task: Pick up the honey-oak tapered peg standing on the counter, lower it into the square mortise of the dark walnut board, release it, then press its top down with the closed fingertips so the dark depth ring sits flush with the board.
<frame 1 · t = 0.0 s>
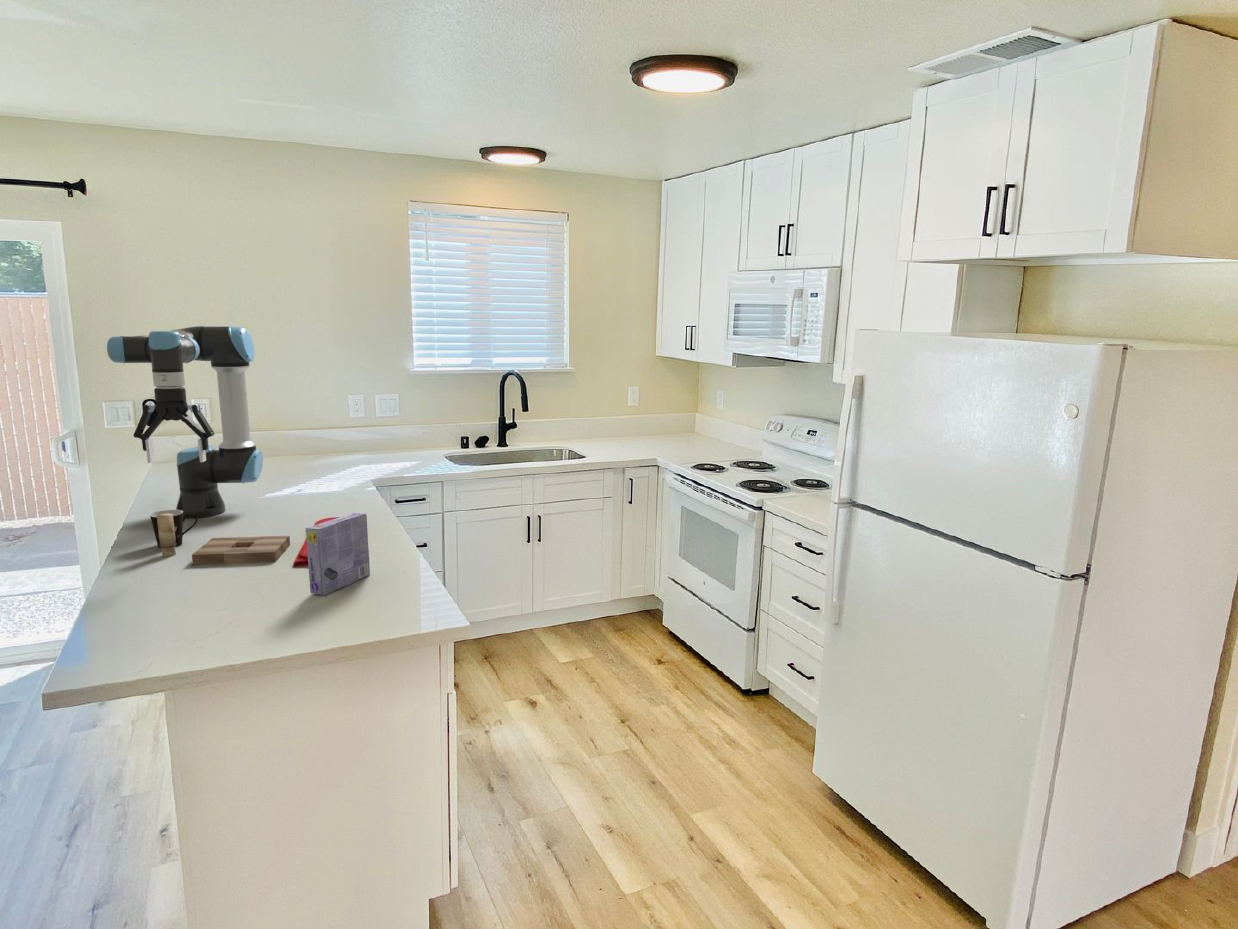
hand: (177, 461, 213), 28 cm above the worktop, fingers open, 13 cm apart
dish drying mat: (331, 546, 232), on the worktop
coffee mug: (175, 545, 228), on the worktop
oak peg: (169, 555, 219), on the worktop
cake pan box: (342, 584, 199), on the worktop
walnut board: (243, 554, 220), on the worktop
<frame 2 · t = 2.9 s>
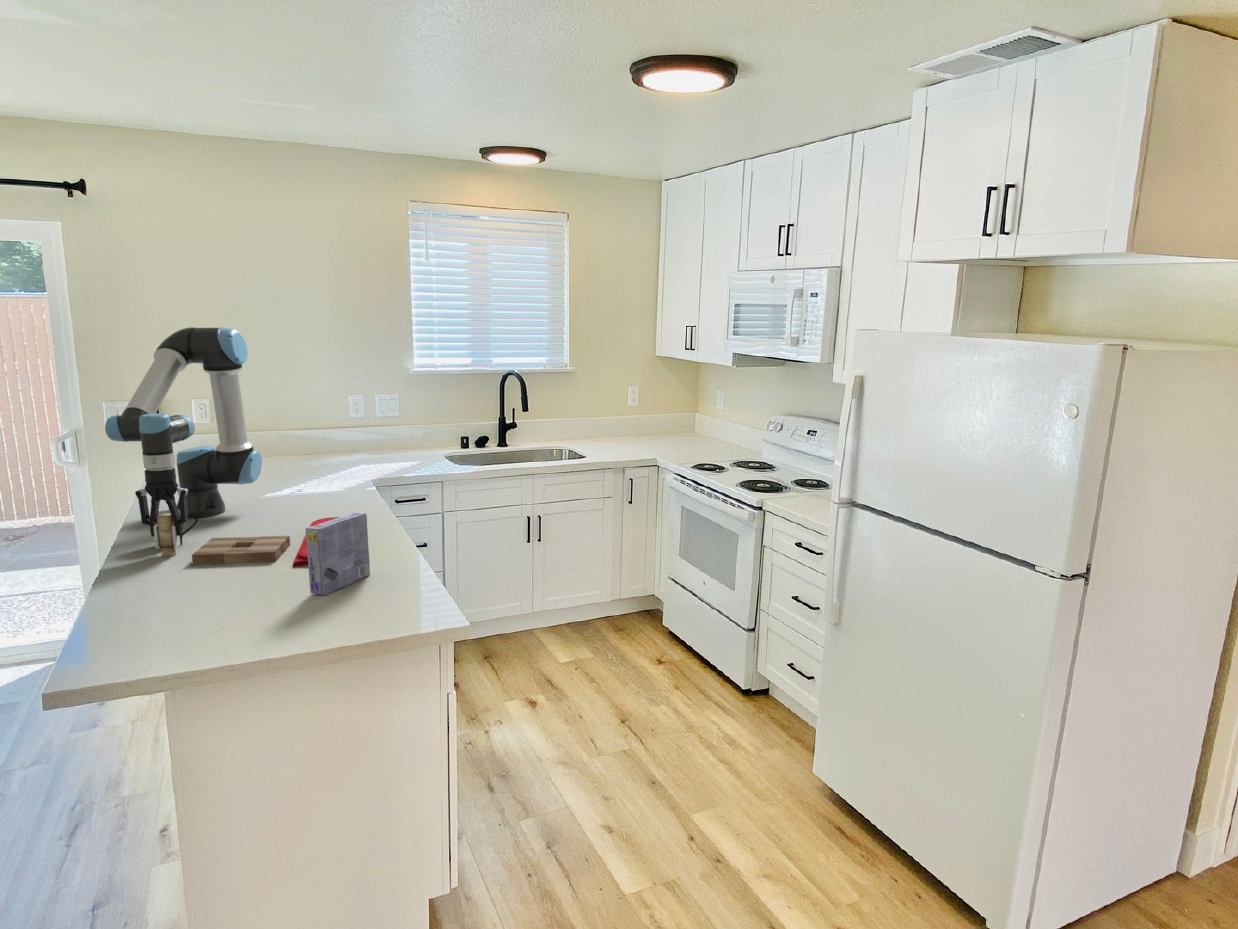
hand: (168, 546, 218), 3 cm above the worktop, fingers closed on oak peg, 4 cm apart
oak peg: (169, 555, 219), on the worktop, touching gripper
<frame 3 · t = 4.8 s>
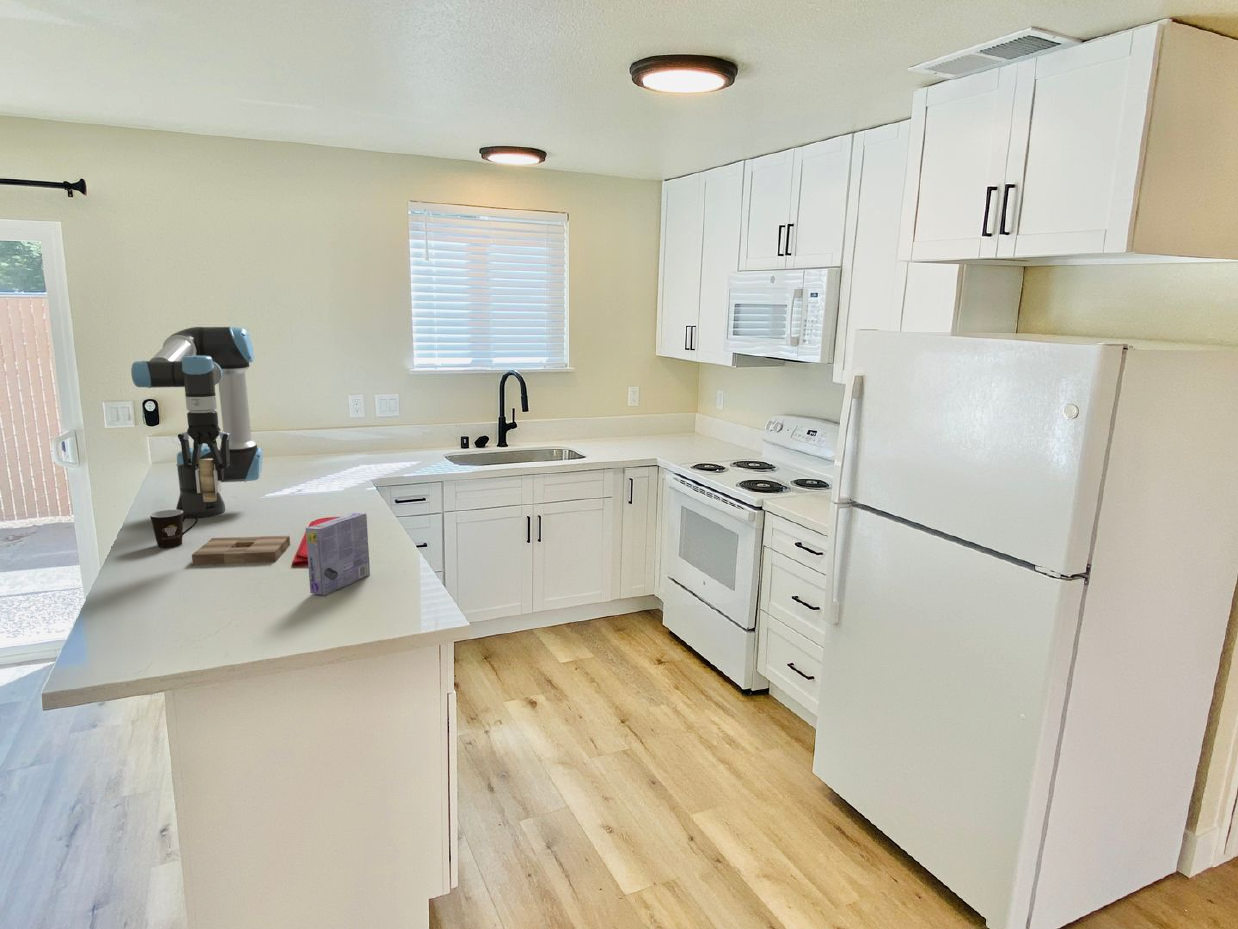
hand: (209, 491, 215), 19 cm above the worktop, fingers closed on oak peg, 4 cm apart
oak peg: (210, 500, 216), point 17 cm above the worktop, touching gripper
when the fingers open (4 cm above the worktop, at t = 7.2 s): oak peg drops 1 cm, resting in walnut board.
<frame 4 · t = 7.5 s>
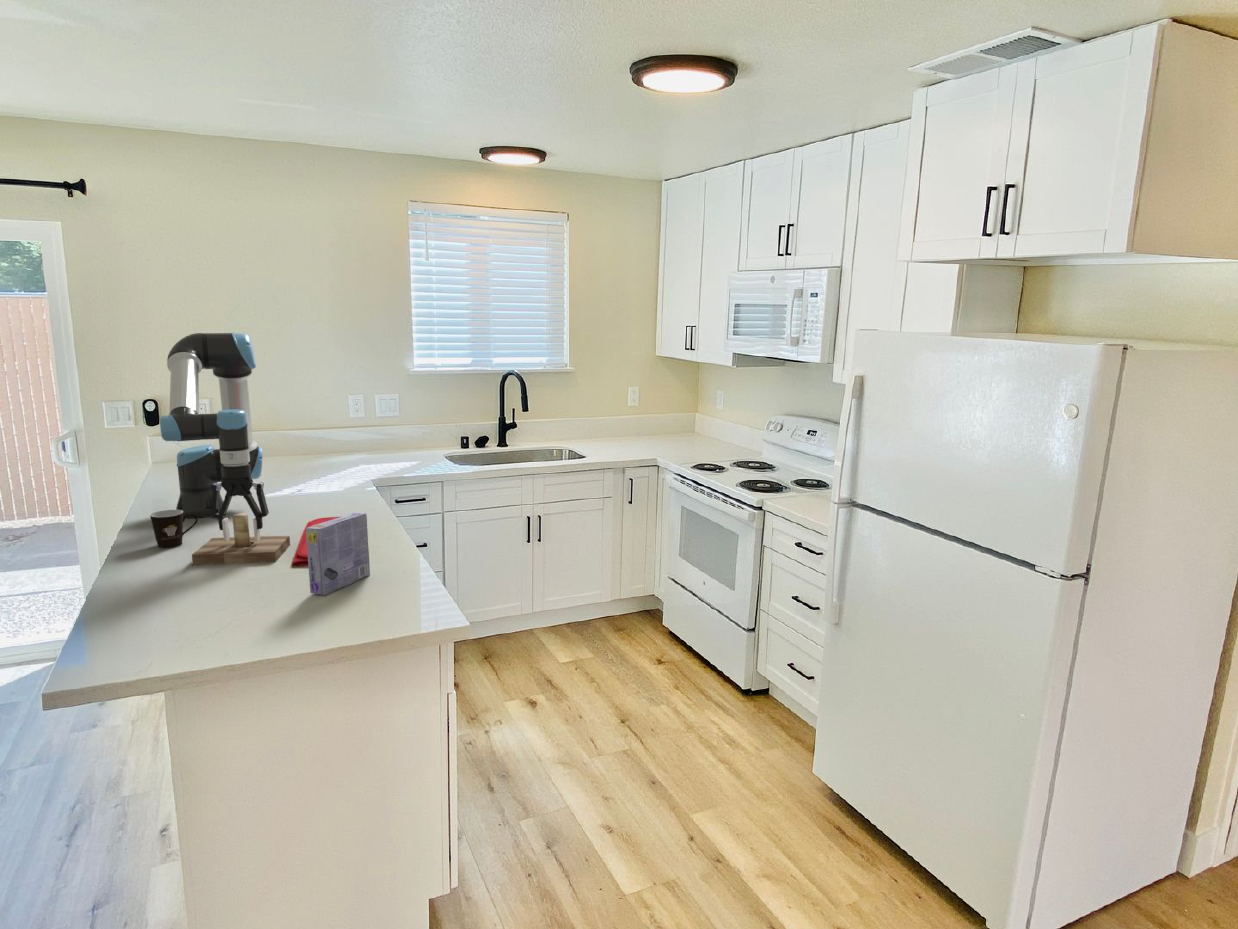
hand: (242, 539, 219), 4 cm above the worktop, fingers open, 8 cm apart
oak peg: (243, 554, 220), resting in walnut board
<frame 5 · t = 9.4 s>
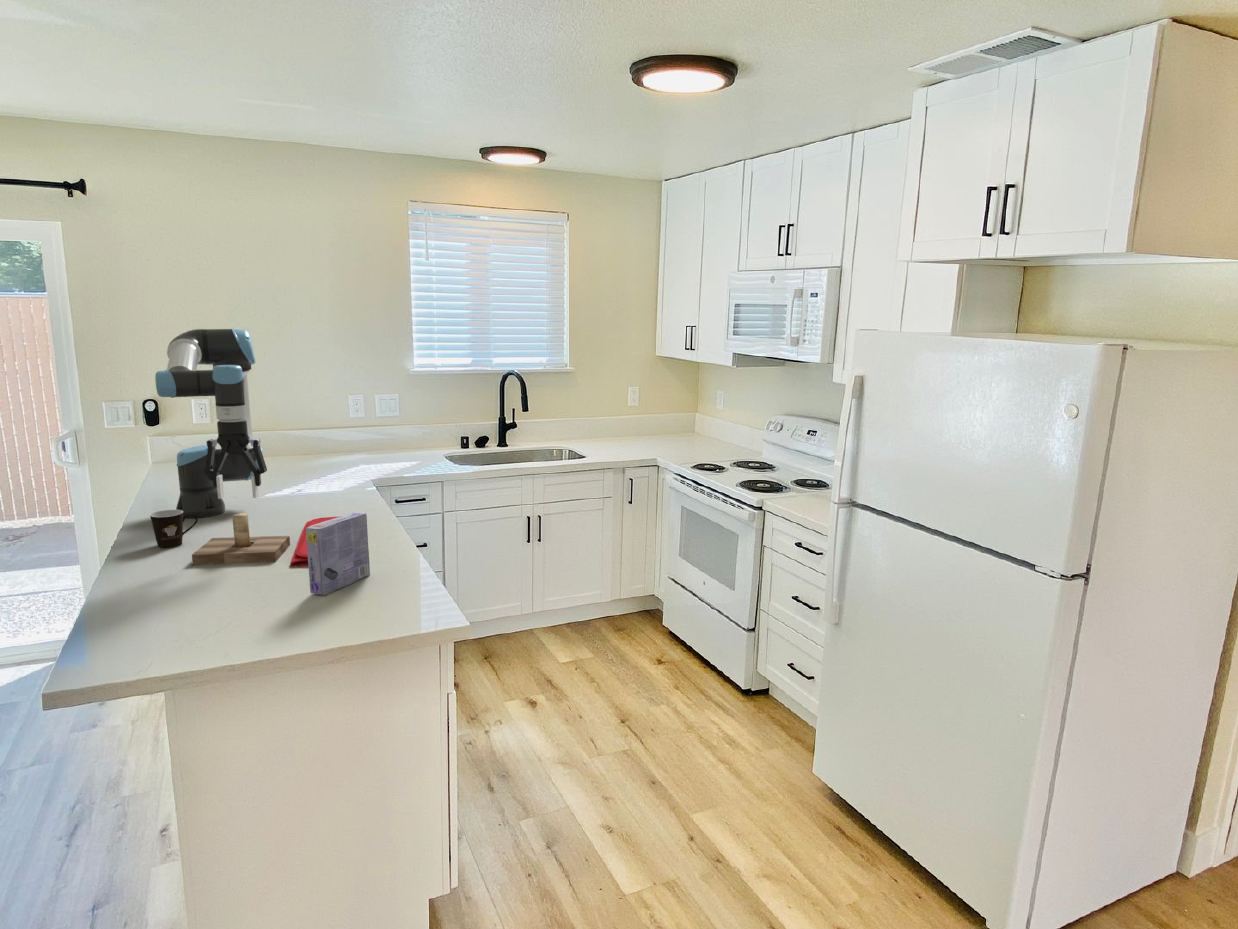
hand: (238, 497, 217), 17 cm above the worktop, fingers open, 9 cm apart
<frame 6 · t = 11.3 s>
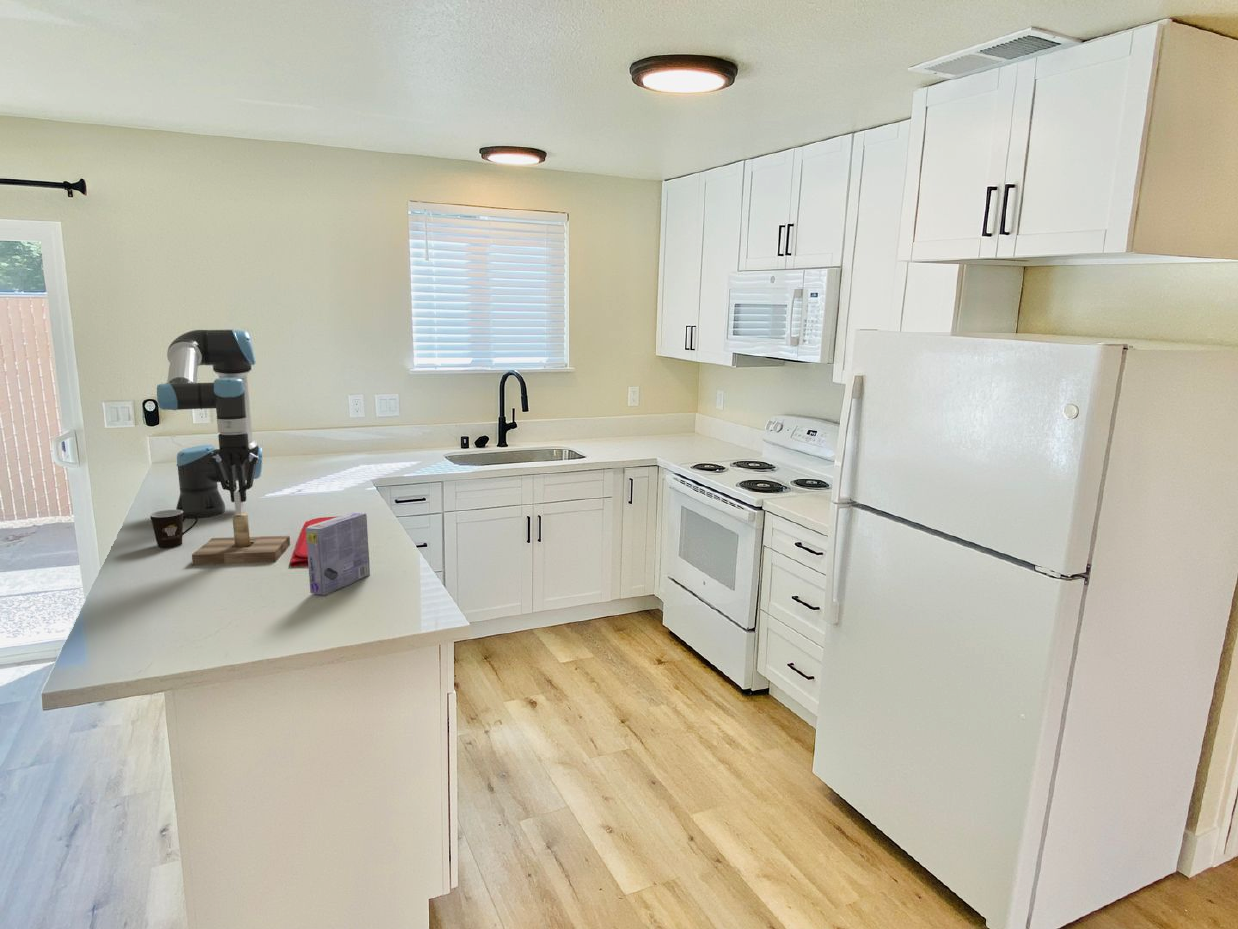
hand: (239, 512, 218), 13 cm above the worktop, fingers closed
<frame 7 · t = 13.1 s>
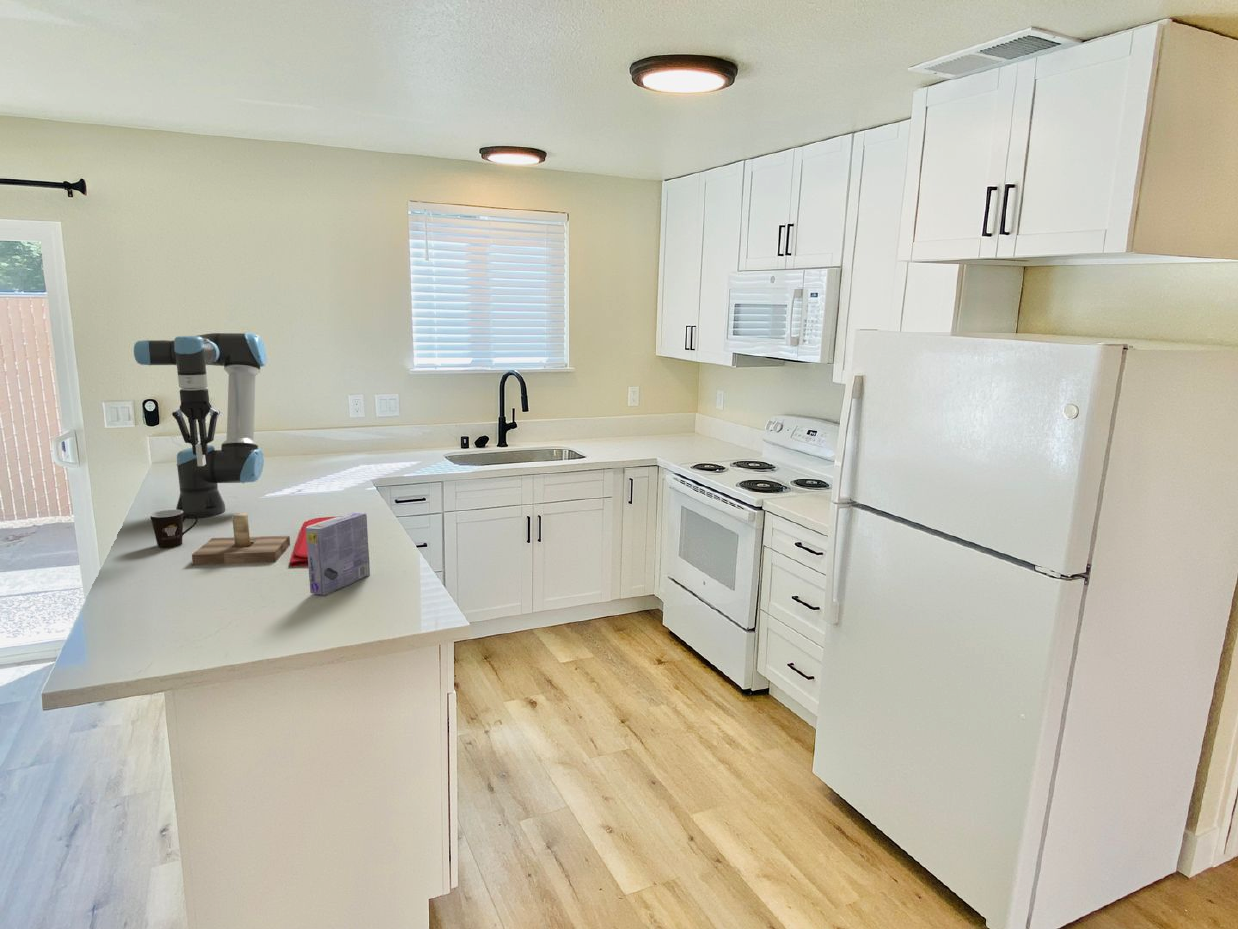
hand: (201, 465, 229), 24 cm above the worktop, fingers closed
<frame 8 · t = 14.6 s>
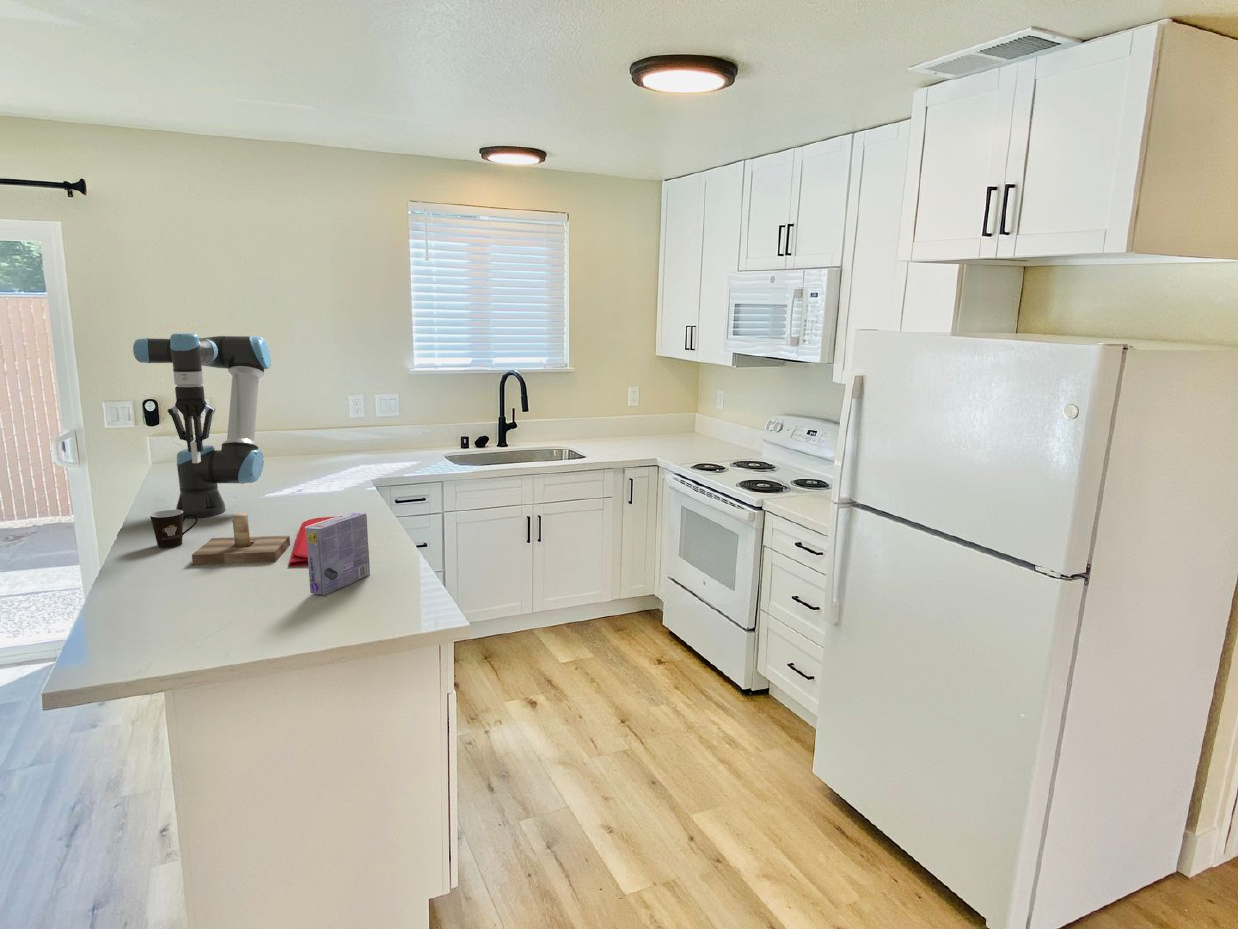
hand: (196, 462, 230), 24 cm above the worktop, fingers closed
at the end: oak peg 0.1 cm off-centre on the walnut board, point 0.0 cm above the walnut board's base; oak peg tilted 0°; the gripper is holding nothing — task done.
